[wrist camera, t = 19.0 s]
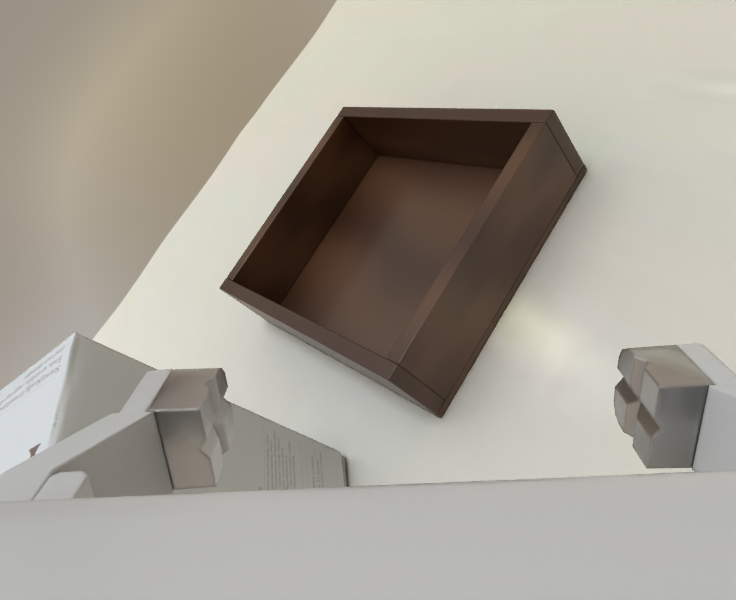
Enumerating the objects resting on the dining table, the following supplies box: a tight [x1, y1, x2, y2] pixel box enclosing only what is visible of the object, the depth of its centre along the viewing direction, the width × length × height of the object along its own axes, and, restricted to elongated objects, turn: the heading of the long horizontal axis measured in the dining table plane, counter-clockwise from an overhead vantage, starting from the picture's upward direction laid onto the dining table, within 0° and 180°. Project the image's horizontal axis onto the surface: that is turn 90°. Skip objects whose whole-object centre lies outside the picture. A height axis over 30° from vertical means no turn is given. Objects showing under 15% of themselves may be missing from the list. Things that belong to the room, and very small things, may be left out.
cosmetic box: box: [0, 332, 347, 494], centre depth 25 cm, size 8×6×15 cm
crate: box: [220, 107, 587, 418], centre depth 34 cm, size 15×17×4 cm
